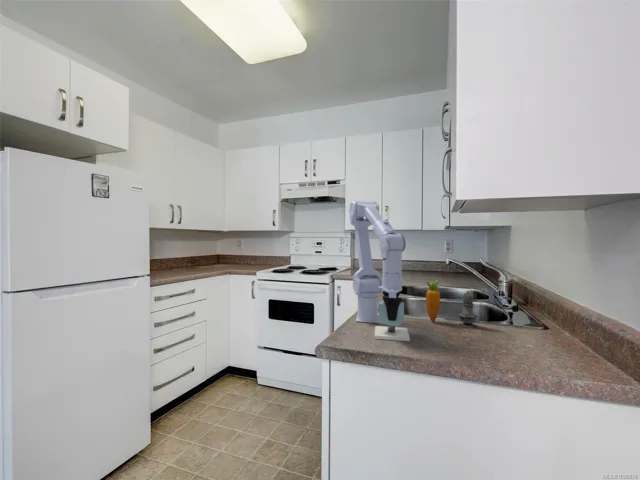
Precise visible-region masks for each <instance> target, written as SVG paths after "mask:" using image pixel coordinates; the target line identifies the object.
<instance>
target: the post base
mask: <svg viewBox="0 0 640 480" xmlns="http://www.w3.org/2000/svg"><path fill="white" fill-rule="evenodd" d="M374 339H375V340H385V341H386V340H387V341H397V342H398V341H400V342H410V341H411V337H410V334H409V331H408V328H407V327H399V326H392V325H387V326H384V325H380V326H379V325H375V327H374Z"/></svg>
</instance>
